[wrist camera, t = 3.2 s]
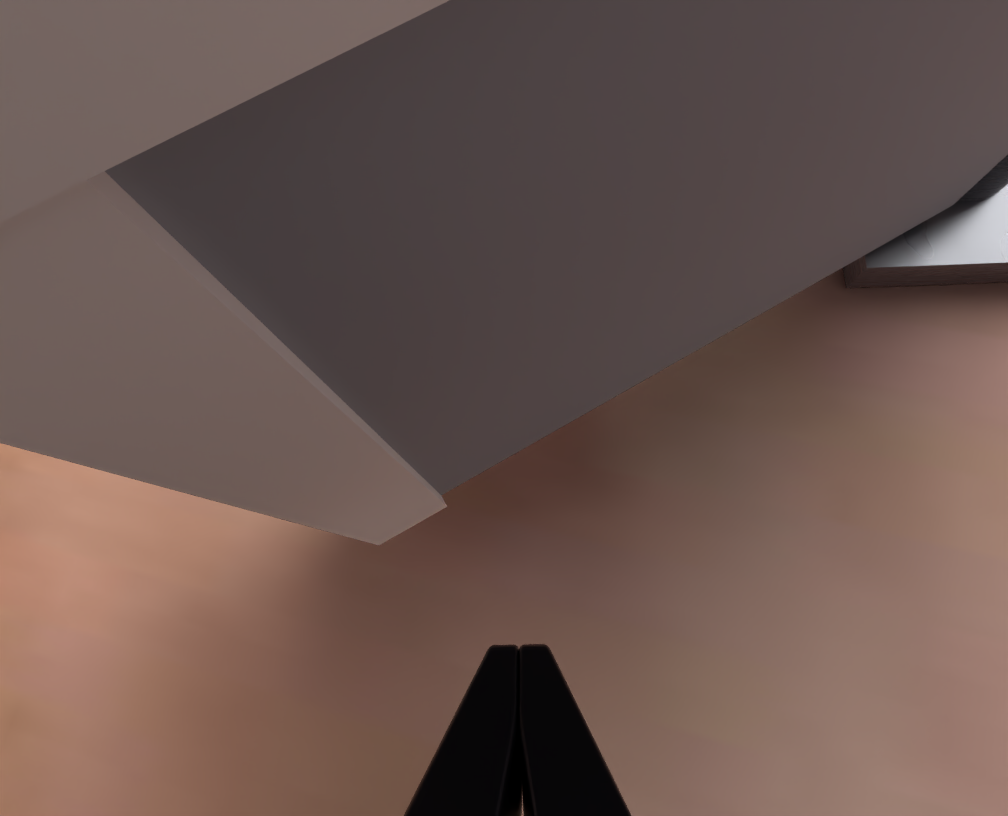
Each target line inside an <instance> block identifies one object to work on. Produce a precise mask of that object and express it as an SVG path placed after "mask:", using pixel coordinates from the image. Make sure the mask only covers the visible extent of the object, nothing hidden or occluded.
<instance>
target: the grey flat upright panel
mask: <svg viewBox="0 0 1008 816" xmlns="http://www.w3.org/2000/svg"><path fill="white" fill-rule="evenodd" d="M1007 155H1008V0H0V443H2V444H6V445H10V446H13V447H17V448H21V449H25V450H28V451H32V452H36V453H39V454H43V455H47V456H50V457H54V458H58V459H61V460H65V461H69V462H72V463H76V464H80V465H84V466H87V467H91V468H95V469H98V470H102V471H106V472H109V473H113V474H117V475H120V476H124V477H128V478H131V479H135V480H139V481H143V482H146V483H150V484H154V485H157V486H161V487H165V488H168V489H172V490H176V491H179V492H183V493H187V494H191V495H194V496H198V497H202V498H205V499H209V500H213V501H216V502H220V503H224V504H227V505H231V506H235V507H238V508H242V509H246V510H250V511H253V512H257V513H261V514H264V515H268V516H272V517H275V518H279V519H283V520H286V521H290V522H294V523H298V524H301V525H305V526H309V527H312V528H316V529H320V530H323V531H327V532H331V533H334V534H338V535H342V536H345V537H349V538H353V539H357V540H360V541H364V542H368V543H371V544H375V545H381V544H383V543H384V542H386V541H388V540H390V539H391V538H393V537H395V536H397V535H398V534H400V533H402V532H404V531H405V530H407V529H409V528H411V527H412V526H414V525H416V524H418V523H419V522H421V521H423V520H425V519H426V518H428V517H430V516H432V515H433V514H435V513H437V512H439V511H441V510H442V509H444V508H446V507H447V505H446V503H445V501H444V500H443V498H442V496H441V495H443V494H445V493H447V492H448V491H450V490H452V489H454V488H455V487H457V486H459V485H461V484H462V483H464V482H466V481H468V480H469V479H471V478H473V477H475V476H476V475H478V474H480V473H482V472H484V471H485V470H487V469H489V468H491V467H492V466H494V465H496V464H498V463H499V462H501V461H503V460H505V459H506V458H508V457H510V456H512V455H513V454H515V453H517V452H519V451H521V450H522V449H524V448H526V447H528V446H529V445H531V444H533V443H535V442H536V441H538V440H540V439H542V438H543V437H545V436H547V435H549V434H550V433H552V432H554V431H556V430H558V429H559V428H561V427H563V426H565V425H566V424H568V423H570V422H572V421H573V420H575V419H577V418H579V417H580V416H582V415H584V414H586V413H587V412H589V411H591V410H593V409H595V408H596V407H598V406H600V405H602V404H603V403H605V402H607V401H609V400H610V399H612V398H614V397H616V396H617V395H619V394H621V393H623V392H624V391H626V390H628V389H630V388H632V387H633V386H635V385H637V384H639V383H640V382H642V381H644V380H646V379H647V378H649V377H651V376H653V375H654V374H656V373H658V372H660V371H661V370H663V369H665V368H667V367H669V366H670V365H672V364H674V363H676V362H677V361H679V360H681V359H683V358H684V357H686V356H688V355H690V354H691V353H693V352H695V351H697V350H698V349H700V348H702V347H704V346H706V345H707V344H709V343H711V342H713V341H714V340H716V339H718V338H720V337H721V336H723V335H725V334H727V333H728V332H730V331H732V330H734V329H735V328H737V327H739V326H741V325H743V324H744V323H746V322H748V321H750V320H751V319H753V318H755V317H757V316H758V315H760V314H762V313H764V312H765V311H767V310H769V309H771V308H772V307H774V306H776V305H778V304H779V303H781V302H783V301H785V300H787V299H788V298H790V297H792V296H794V295H795V294H797V293H799V292H801V291H802V290H804V289H806V288H808V287H809V286H811V285H813V284H815V283H816V282H818V281H820V280H822V279H824V278H825V277H827V276H829V275H831V274H832V273H834V272H836V271H838V270H839V269H841V268H843V267H845V266H846V265H848V264H850V263H852V262H853V261H855V260H857V259H859V258H861V257H862V256H864V255H866V254H868V253H869V252H871V251H873V250H875V249H876V248H878V247H880V246H882V245H883V244H885V243H887V242H889V241H890V240H892V239H894V238H896V237H898V236H899V235H901V234H903V233H905V232H906V231H908V230H910V229H912V228H913V227H915V226H917V225H919V224H920V223H922V222H924V221H926V220H927V219H929V218H931V217H933V216H935V215H936V214H938V213H940V212H942V211H943V210H945V209H947V208H949V207H950V206H952V205H954V204H955V203H956V202H957V201H958V200H959V199H960V198H961V197H962V196H963V195H964V194H965V193H967V192H968V191H969V190H970V189H971V188H972V187H973V186H974V185H975V184H976V183H977V182H978V181H980V180H981V179H982V178H983V177H984V176H985V175H986V174H987V173H988V172H989V171H990V170H991V169H993V168H994V167H995V166H996V165H997V164H998V163H999V162H1000V161H1001V160H1002V159H1003V158H1004V157H1005V156H1007Z"/></svg>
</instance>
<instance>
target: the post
mask: <svg viewBox="0 0 1008 816" xmlns="http://www.w3.org/2000/svg"><path fill="white" fill-rule="evenodd" d="M843 271H844V277H845V283H846V288H859V287H886V286H913V285H941V284H968V283H995V282H1008V155H1007V156H1005V157H1004V158H1003V159H1002V160H1001V161H1000V162H999V163H998V164H997V165H996V166H995V167H994V168H993V169H991V170H990V171H989V172H988V173H987V174H986V175H985V176H984V177H983V178H982V179H981V180H980V181H978V182H977V183H976V184H975V185H974V186H973V187H972V188H971V189H970V190H969V191H968V192H967V193H965V194H964V195H963V196H962V197H961V198H960V199H959V200H958V201H957V202H956V203H955V204H954V205H952V206H950V207H949V208H947V209H945V210H943V211H942V212H940V213H938V214H936V215H935V216H933V217H931V218H929V219H927V220H926V221H924V222H922V223H920V224H919V225H917V226H915V227H913V228H912V229H910V230H908V231H906V232H905V233H903V234H901V235H899V236H898V237H896V238H894V239H892V240H890V241H889V242H887V243H885V244H883V245H882V246H880V247H878V248H876V249H875V250H873V251H871V252H869V253H868V254H866V255H864V256H862V257H861V258H859V259H857V260H855V261H853V262H852V263H850V264H848V265H846V266H845V267H843Z"/></svg>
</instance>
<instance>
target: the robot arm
mask: <svg viewBox="0 0 1008 816" xmlns="http://www.w3.org/2000/svg"><path fill="white" fill-rule="evenodd" d="M522 793H523V809H524V816H631V814H630V812H629V810H628V808H627V805H626V803H625V801H624V799H623V797H622V795H621V793H620V791H619V789H618V787H617V785H616V783H615V781H614V779H613V777H612V775H611V773H610V771H609V769H608V767H607V765H606V763H605V760H604V758H603V756H602V754H601V752H600V750H599V748H598V746H597V744H596V742H595V740H594V738H593V736H592V734H591V732H590V730H589V728H588V726H587V724H586V722H585V720H584V718H583V715H582V713H581V711H580V709H579V707H578V705H577V703H576V701H575V699H574V697H573V695H572V693H571V691H570V689H569V687H568V685H567V683H566V681H565V679H564V677H563V675H562V673H561V670H560V668H559V666H558V664H557V662H556V660H555V658H554V656H553V654H552V652H551V650H550V648H549V647H548V646H547V645H545V644H524V645H522V646H521V647H520V648H519V649H518V647H517V646H516V645H492V646H491V647H490V648H489V649H488V650H487V652H486V654H485V656H484V658H483V660H482V662H481V664H480V666H479V668H478V670H477V672H476V674H475V676H474V678H473V680H472V682H471V684H470V686H469V687H468V689H467V691H466V693H465V695H464V697H463V699H462V701H461V703H460V705H459V707H458V709H457V711H456V713H455V715H454V717H453V719H452V721H451V723H450V725H449V727H448V729H447V731H446V733H445V735H444V737H443V739H442V741H441V743H440V745H439V747H438V749H437V751H436V753H435V755H434V757H433V759H432V761H431V763H430V765H429V766H428V768H427V770H426V772H425V774H424V776H423V778H422V780H421V782H420V784H419V786H418V788H417V790H416V792H415V794H414V796H413V798H412V800H411V802H410V804H409V806H408V808H407V810H406V812H405V814H404V816H521V814H522Z"/></svg>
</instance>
